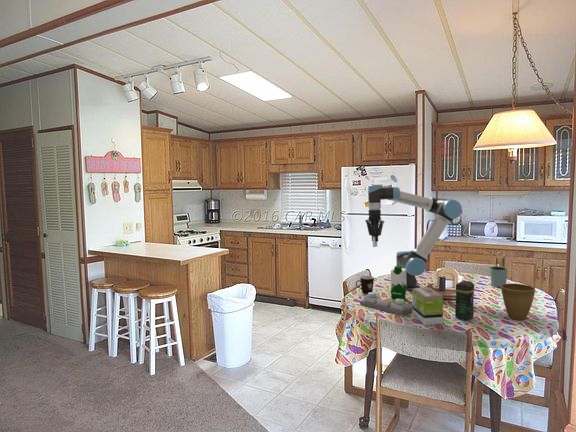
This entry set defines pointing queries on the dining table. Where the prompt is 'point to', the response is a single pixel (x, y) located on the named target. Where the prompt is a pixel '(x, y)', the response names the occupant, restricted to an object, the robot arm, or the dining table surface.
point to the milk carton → (398, 283)
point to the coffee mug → (366, 284)
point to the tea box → (427, 306)
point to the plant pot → (517, 300)
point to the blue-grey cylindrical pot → (498, 276)
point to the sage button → (399, 301)
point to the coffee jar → (464, 300)
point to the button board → (386, 305)
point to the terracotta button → (385, 299)
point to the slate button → (372, 295)
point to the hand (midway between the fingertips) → (375, 246)
